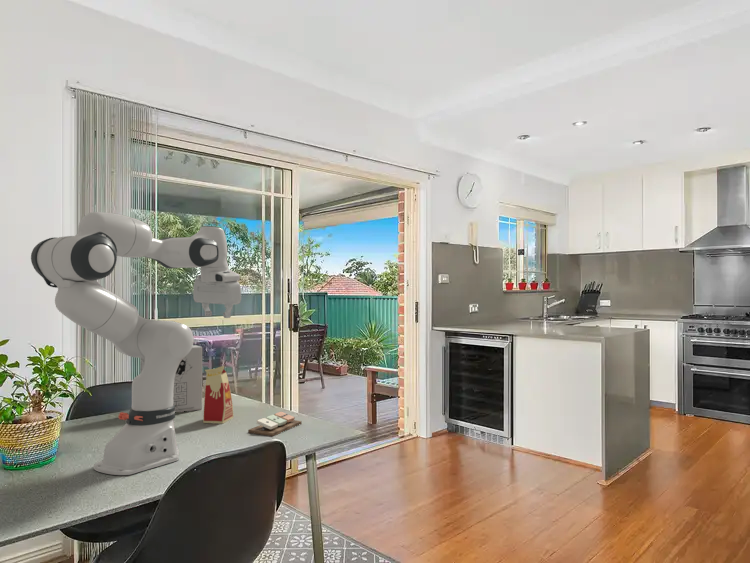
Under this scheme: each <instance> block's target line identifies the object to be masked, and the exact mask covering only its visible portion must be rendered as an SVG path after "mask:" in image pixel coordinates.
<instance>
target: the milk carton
mask: <svg viewBox="0 0 750 563" xmlns="http://www.w3.org/2000/svg"><path fill="white" fill-rule="evenodd" d="M204 371H205V372H206V373H205V374H206V375H205V384H204V385H205V386H204V387H205V388H204V401H203V421H202V423H203V424H218V425H219V424H221V425H223V424H225V423H227V422H229V421H231V420H232V419H234V406H233V398H232V391H231V387H230V382H229V377H228V374H227V371H226V369H225V365H223V366H222V365H221V366H219V367H215V368H210V369H204Z"/></svg>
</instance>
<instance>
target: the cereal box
mask: <svg viewBox="0 0 750 563" xmlns="http://www.w3.org/2000/svg"><path fill="white" fill-rule="evenodd" d="M139 359H140V362H139V363H140V364H139V365H140V368H139V369H140V370H139V371H140V373H141V372H142V370H143V367H144V363H145V358H139ZM140 373H139V374H140ZM173 404H174V405H175V412H179V413H184V411H187V412H192V411H201V410H202V409H203V346H199V345H194V344H193V347H192V349H191V351H190V352H189V353H188V354H187V355H186V356H185V357H184V358H183V359H182V361H181V362H180V364H179V366H178V368H177V371H176V375H175V379H174V399H173Z"/></svg>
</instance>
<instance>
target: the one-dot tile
mask: <svg viewBox="0 0 750 563" xmlns="http://www.w3.org/2000/svg"><path fill="white" fill-rule="evenodd" d="M255 424H257V425H258V426H259V425H261V426H264V427H266V428H268V429H270V430H271V429H273V428H276V427H278V424H277V423H275V422H273V421H270V420H268V419H266V417H263V418H260V419H257V420H256V423H255Z"/></svg>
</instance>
